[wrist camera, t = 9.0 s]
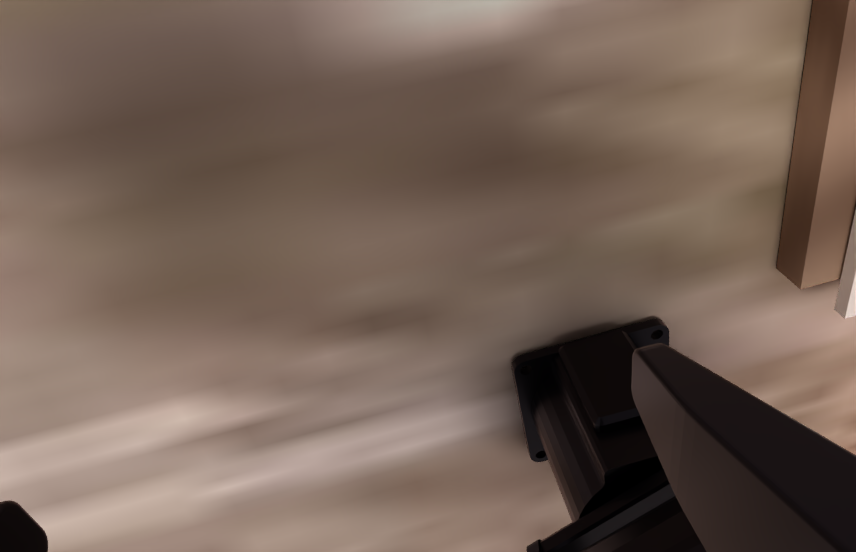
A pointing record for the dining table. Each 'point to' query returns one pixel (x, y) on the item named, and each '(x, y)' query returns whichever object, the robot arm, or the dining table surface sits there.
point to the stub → (848, 279)
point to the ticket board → (823, 152)
